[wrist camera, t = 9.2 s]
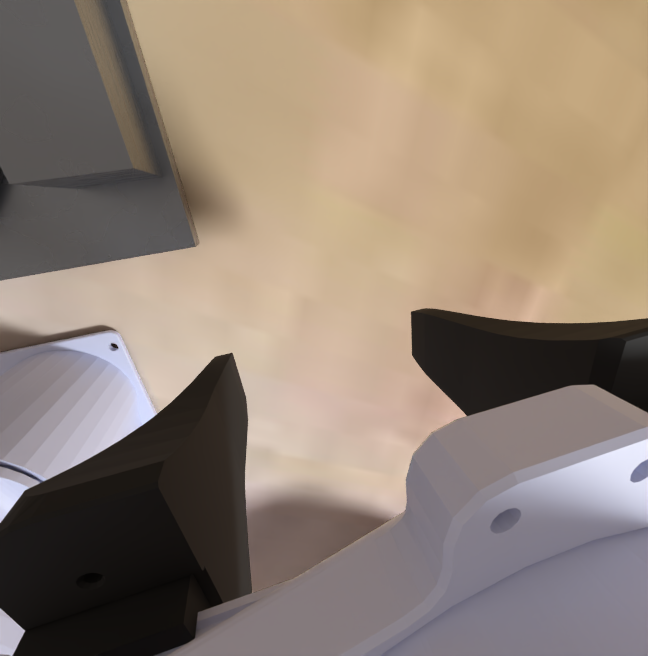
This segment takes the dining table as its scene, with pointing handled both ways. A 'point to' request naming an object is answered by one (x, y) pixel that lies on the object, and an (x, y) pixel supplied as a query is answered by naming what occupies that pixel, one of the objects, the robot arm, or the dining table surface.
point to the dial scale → (81, 142)
